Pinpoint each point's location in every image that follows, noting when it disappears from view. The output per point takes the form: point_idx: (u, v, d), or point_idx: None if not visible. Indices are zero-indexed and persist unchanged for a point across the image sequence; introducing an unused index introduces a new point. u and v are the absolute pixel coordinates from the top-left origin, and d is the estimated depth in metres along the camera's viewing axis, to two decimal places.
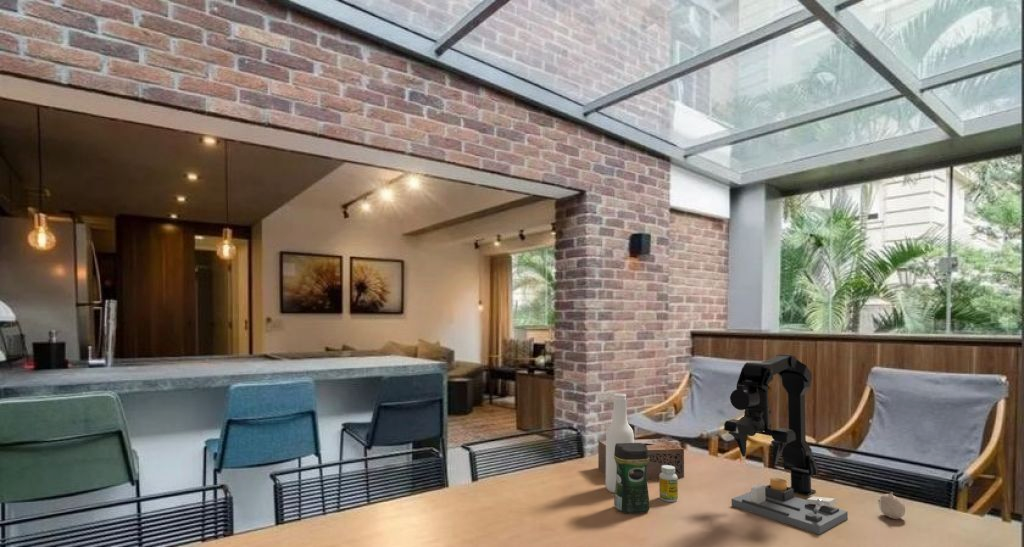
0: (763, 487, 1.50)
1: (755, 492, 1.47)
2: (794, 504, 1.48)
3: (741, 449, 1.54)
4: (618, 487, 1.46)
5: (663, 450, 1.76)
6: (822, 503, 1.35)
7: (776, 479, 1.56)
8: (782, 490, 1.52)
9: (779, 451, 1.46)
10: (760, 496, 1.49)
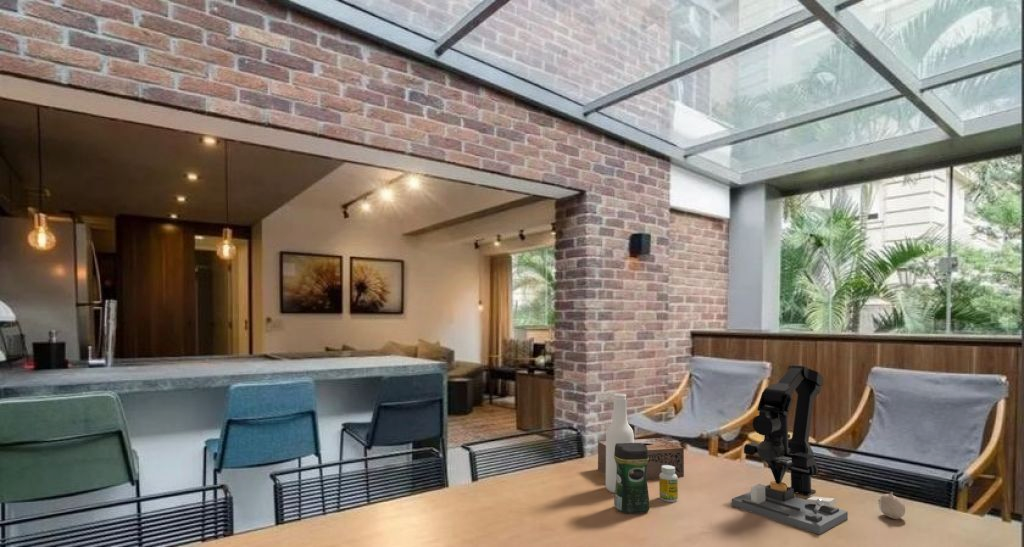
0: (763, 487, 1.50)
1: (755, 492, 1.47)
2: (794, 504, 1.48)
3: (775, 476, 1.55)
4: (618, 487, 1.46)
5: (664, 450, 1.77)
6: (822, 503, 1.35)
7: None
8: None
9: (783, 472, 1.54)
10: (760, 496, 1.49)
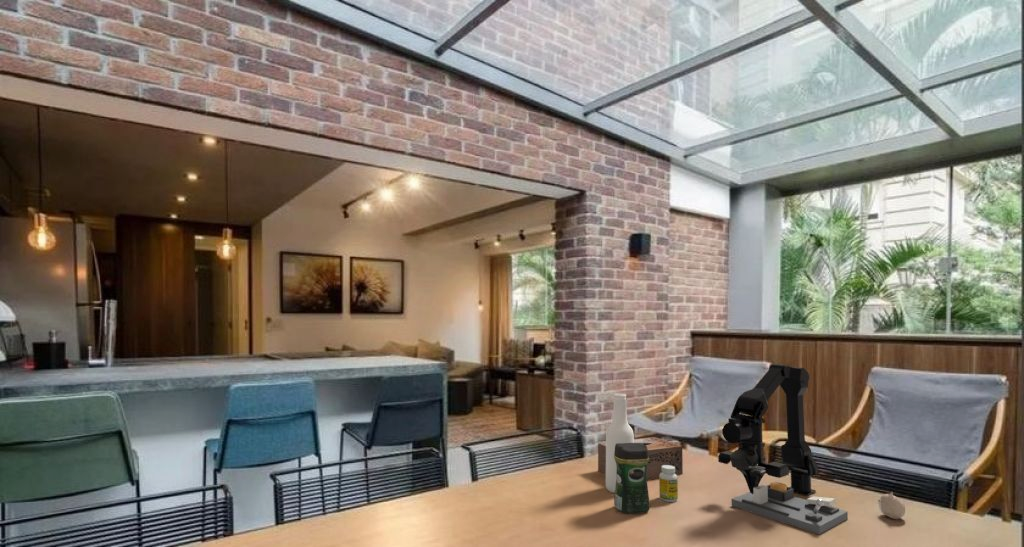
0: (765, 488, 1.49)
1: (758, 492, 1.47)
2: (794, 504, 1.48)
3: (749, 486, 1.51)
4: (618, 487, 1.46)
5: (665, 449, 1.78)
6: (822, 503, 1.35)
7: (776, 483, 1.55)
8: None
9: (757, 481, 1.50)
10: (763, 496, 1.48)
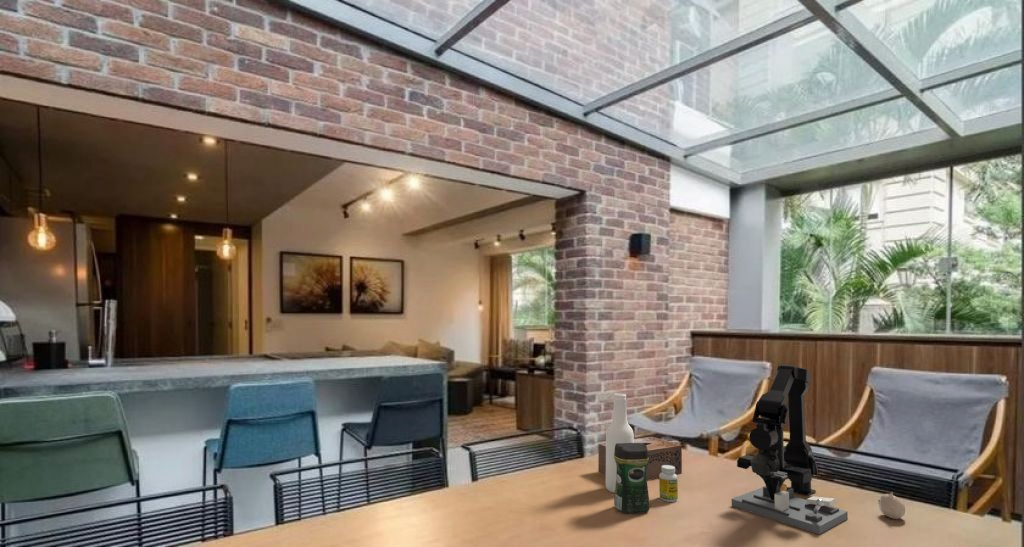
0: (787, 494, 1.44)
1: (779, 499, 1.42)
2: (794, 504, 1.48)
3: (770, 491, 1.46)
4: (618, 487, 1.46)
5: (666, 448, 1.79)
6: (822, 503, 1.35)
7: None
8: None
9: (778, 487, 1.45)
10: (784, 503, 1.43)
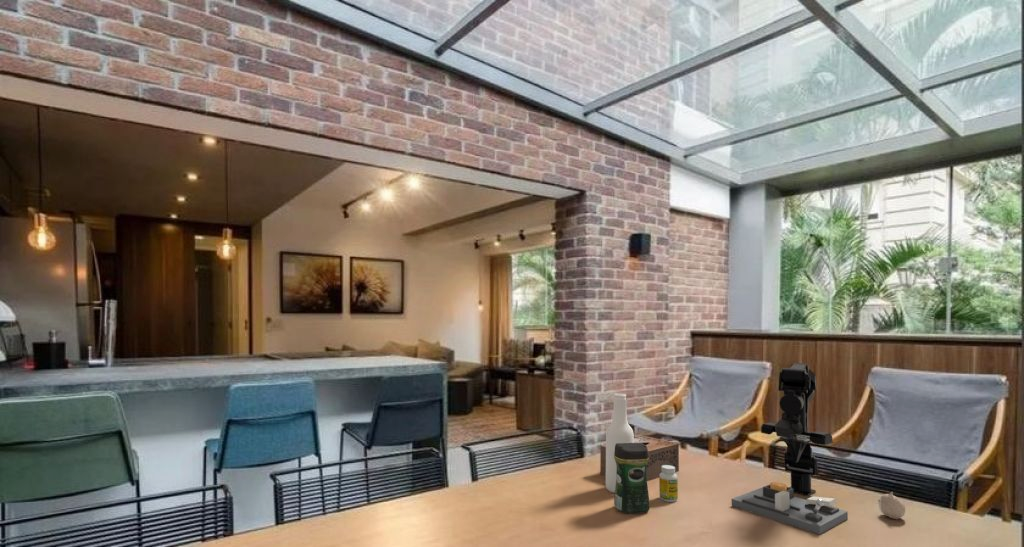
0: (787, 494, 1.44)
1: (780, 499, 1.42)
2: (794, 504, 1.48)
3: (792, 454, 1.56)
4: (618, 487, 1.46)
5: (666, 447, 1.80)
6: (822, 503, 1.35)
7: (776, 483, 1.55)
8: None
9: (800, 450, 1.55)
10: (785, 503, 1.43)
